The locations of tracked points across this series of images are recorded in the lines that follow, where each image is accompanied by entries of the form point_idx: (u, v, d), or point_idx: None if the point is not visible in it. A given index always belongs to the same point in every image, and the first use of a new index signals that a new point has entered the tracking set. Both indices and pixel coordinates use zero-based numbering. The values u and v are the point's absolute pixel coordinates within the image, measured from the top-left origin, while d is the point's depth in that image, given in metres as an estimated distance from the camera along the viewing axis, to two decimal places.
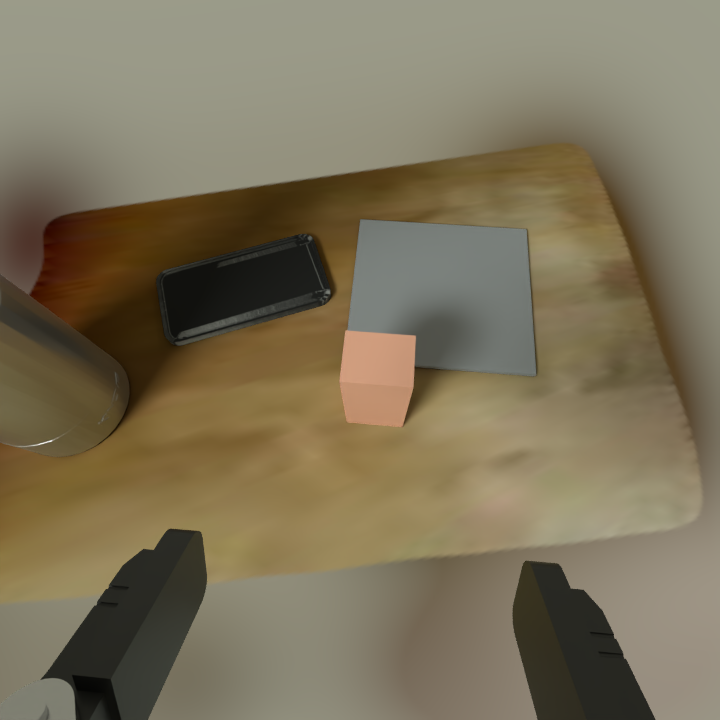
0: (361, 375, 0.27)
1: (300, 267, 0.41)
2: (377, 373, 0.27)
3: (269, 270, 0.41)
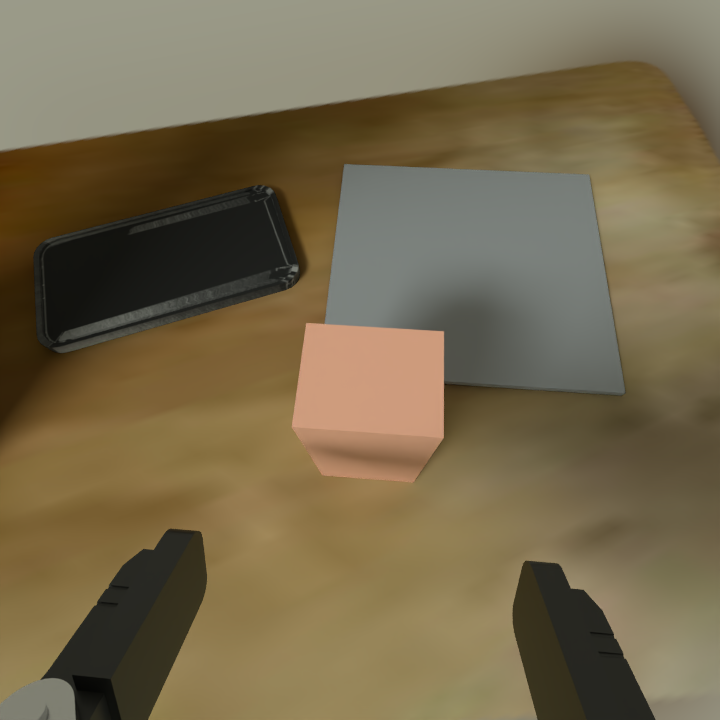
0: (336, 413, 0.13)
1: (254, 233, 0.27)
2: (368, 408, 0.13)
3: (207, 237, 0.27)
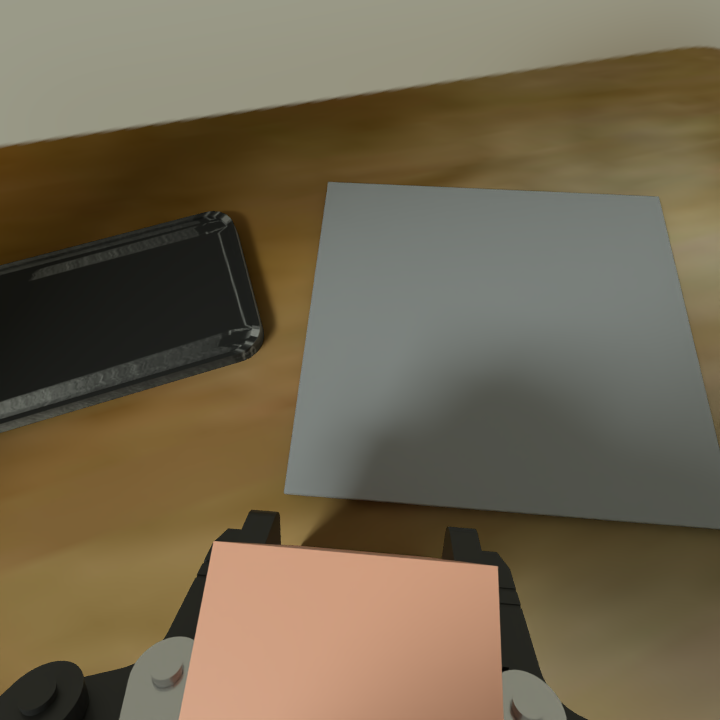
0: None
1: (201, 279, 0.20)
2: None
3: (138, 285, 0.20)
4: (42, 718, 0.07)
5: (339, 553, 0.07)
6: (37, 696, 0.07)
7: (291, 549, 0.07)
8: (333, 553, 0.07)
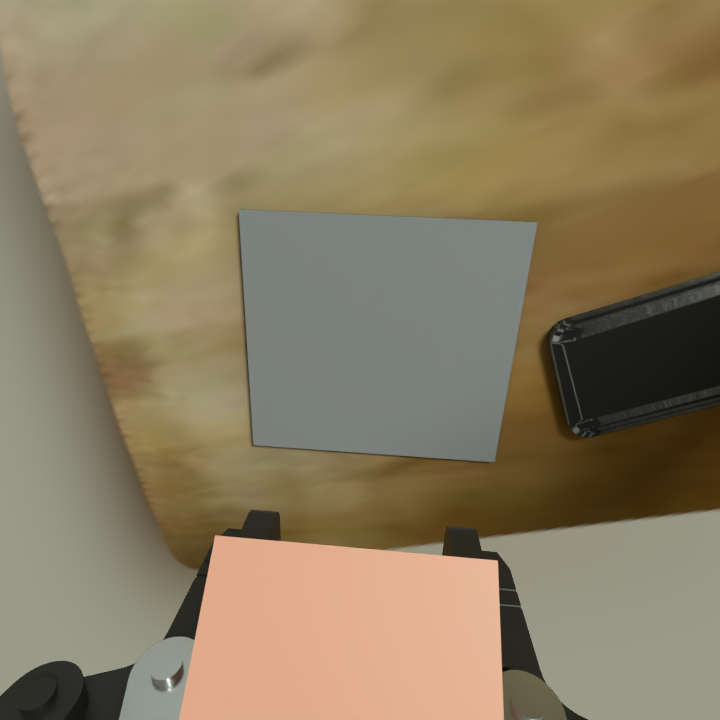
0: None
1: (595, 381, 0.26)
2: None
3: (647, 376, 0.26)
4: (42, 718, 0.07)
5: (340, 547, 0.07)
6: (37, 696, 0.07)
7: (292, 543, 0.07)
8: (334, 547, 0.07)
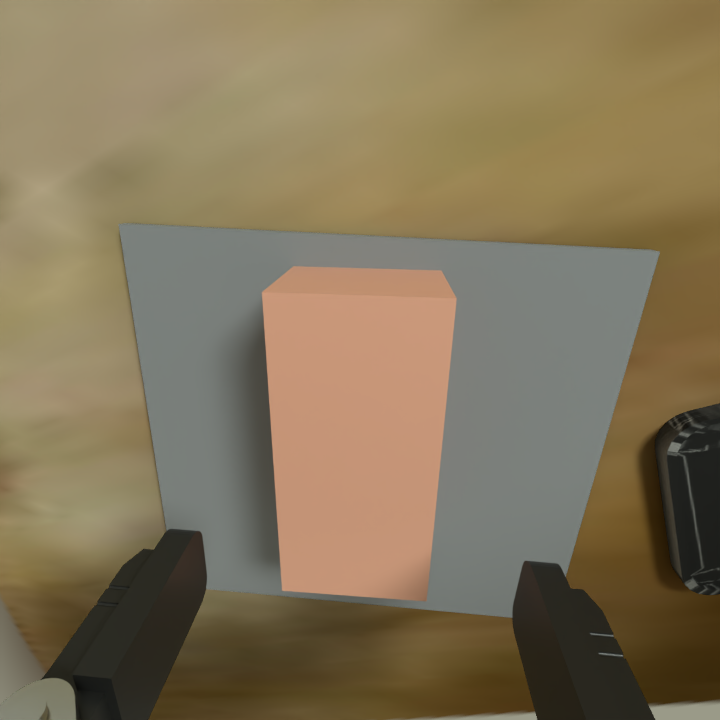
0: (319, 289, 0.11)
1: None
2: (360, 288, 0.11)
3: None
4: None
5: None
6: None
7: (334, 267, 0.13)
8: (356, 269, 0.13)
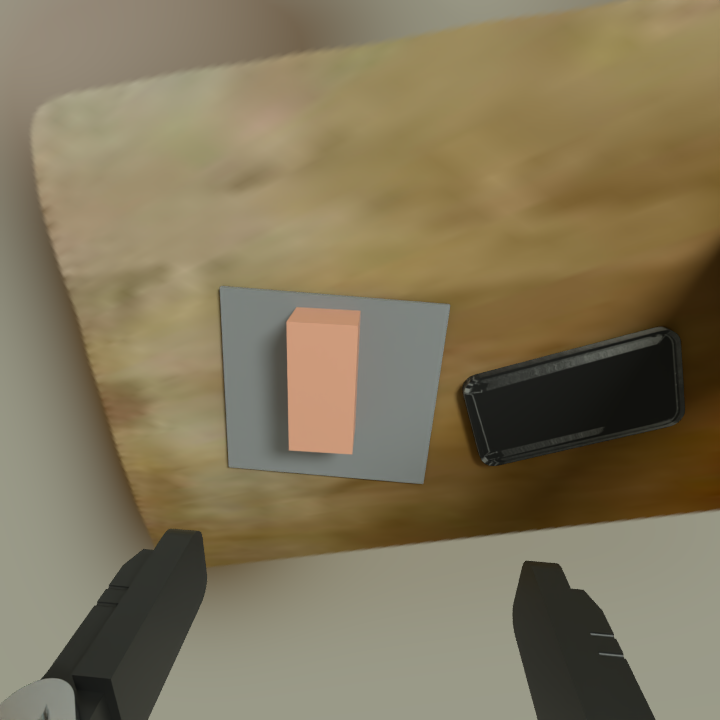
0: (308, 320, 0.28)
1: (498, 423, 0.33)
2: (323, 320, 0.28)
3: (537, 421, 0.33)
4: None
5: (325, 309, 0.31)
6: None
7: (314, 308, 0.31)
8: (323, 309, 0.31)
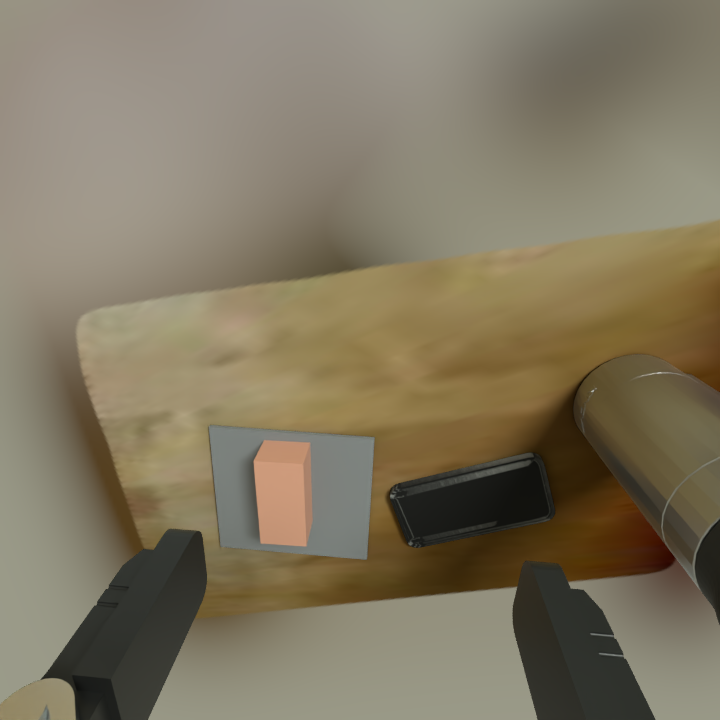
0: (269, 458, 0.40)
1: (418, 518, 0.45)
2: (280, 457, 0.40)
3: (446, 516, 0.44)
4: None
5: (284, 441, 0.42)
6: None
7: None
8: (283, 441, 0.42)
